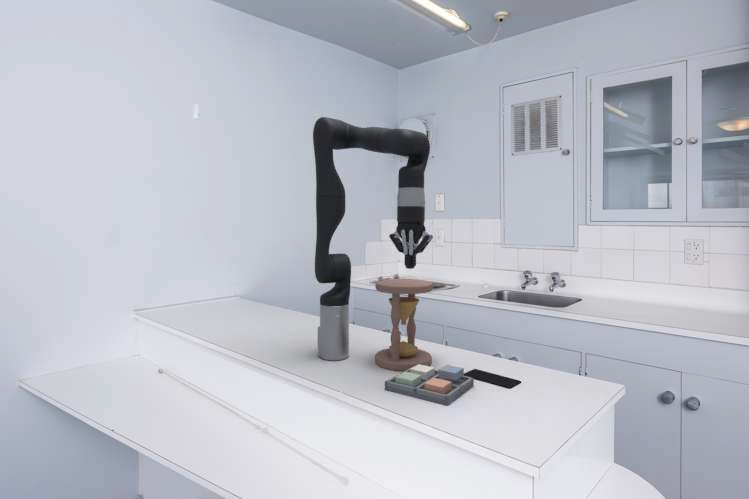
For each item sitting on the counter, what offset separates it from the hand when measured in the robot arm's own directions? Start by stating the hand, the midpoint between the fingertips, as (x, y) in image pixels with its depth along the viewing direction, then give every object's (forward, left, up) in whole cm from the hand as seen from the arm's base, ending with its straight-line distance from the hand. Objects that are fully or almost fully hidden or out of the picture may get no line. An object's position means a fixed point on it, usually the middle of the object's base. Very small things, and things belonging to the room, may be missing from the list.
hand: (410, 268), depth 129 cm
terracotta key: (+12, -7, -29) cm, 33 cm away
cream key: (+4, +1, -30) cm, 30 cm away
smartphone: (+19, +13, -32) cm, 39 cm away
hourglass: (-9, +12, -31) cm, 35 cm away
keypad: (+8, -3, -31) cm, 32 cm away
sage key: (+4, -7, -30) cm, 31 cm away
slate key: (+12, +1, -28) cm, 31 cm away
